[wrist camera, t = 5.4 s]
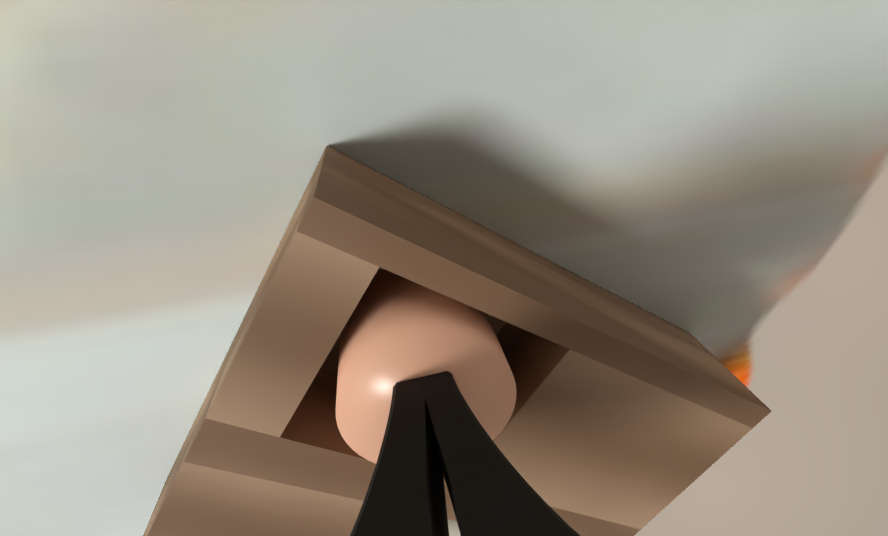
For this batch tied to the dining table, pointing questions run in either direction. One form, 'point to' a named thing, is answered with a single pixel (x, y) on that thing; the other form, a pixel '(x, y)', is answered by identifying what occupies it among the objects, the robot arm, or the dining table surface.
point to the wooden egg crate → (523, 343)
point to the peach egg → (416, 358)
